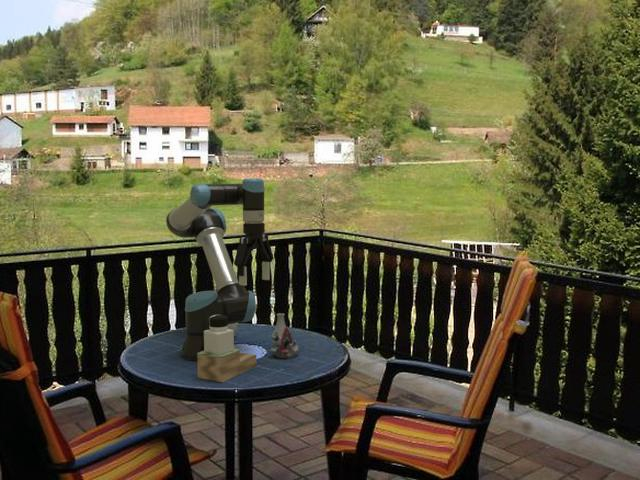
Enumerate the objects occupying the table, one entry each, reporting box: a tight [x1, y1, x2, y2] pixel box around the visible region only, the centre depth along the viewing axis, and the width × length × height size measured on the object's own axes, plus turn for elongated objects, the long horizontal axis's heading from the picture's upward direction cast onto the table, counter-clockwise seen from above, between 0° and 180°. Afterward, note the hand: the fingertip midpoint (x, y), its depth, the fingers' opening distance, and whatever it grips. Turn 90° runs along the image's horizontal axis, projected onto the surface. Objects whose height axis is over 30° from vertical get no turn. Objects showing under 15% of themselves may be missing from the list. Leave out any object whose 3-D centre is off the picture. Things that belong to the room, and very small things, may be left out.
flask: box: [273, 312, 289, 340], centre depth 261 cm, size 7×7×10 cm
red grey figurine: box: [268, 325, 300, 359], centre depth 236 cm, size 11×11×12 cm
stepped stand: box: [196, 348, 257, 383], centre depth 217 cm, size 10×20×8 cm, turn 153°
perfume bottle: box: [227, 323, 238, 337], centre depth 263 cm, size 8×10×12 cm
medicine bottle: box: [204, 315, 235, 355], centre depth 211 cm, size 7×7×12 cm
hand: (254, 282), depth 226 cm, fingers open, 13 cm apart
